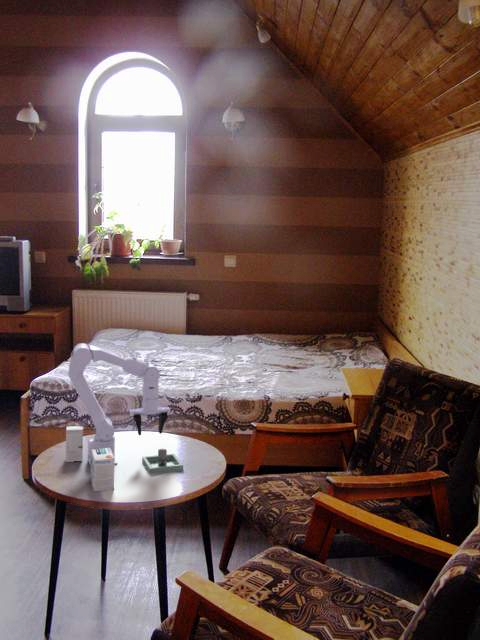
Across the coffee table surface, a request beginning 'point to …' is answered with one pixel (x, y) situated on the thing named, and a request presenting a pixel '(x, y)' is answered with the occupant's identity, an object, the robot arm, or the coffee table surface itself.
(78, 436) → the skincare box
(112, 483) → the light bulb box
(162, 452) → the cell
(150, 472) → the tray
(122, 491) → the coffee table surface
